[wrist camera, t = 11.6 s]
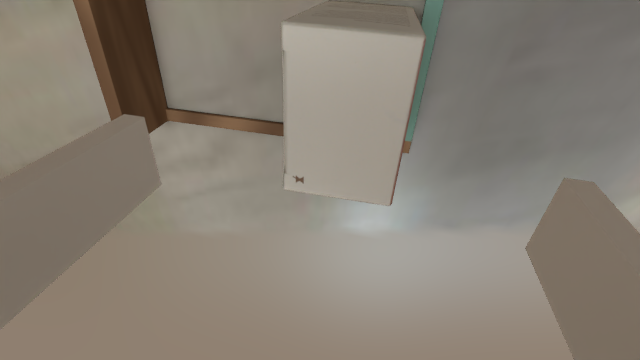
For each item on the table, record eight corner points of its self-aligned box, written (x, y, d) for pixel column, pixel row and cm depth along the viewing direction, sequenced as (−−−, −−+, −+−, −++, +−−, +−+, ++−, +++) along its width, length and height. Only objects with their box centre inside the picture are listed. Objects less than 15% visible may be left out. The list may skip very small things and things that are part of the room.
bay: (450, -33, 19) (466, -33, 15) (408, 151, 26) (411, 187, 21) (119, -55, 22) (54, -59, 17) (159, 117, 28) (118, 143, 24)
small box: (392, 125, 25) (391, 211, 16) (319, 116, 25) (280, 194, 17) (416, 4, 20) (431, 34, 12) (326, -3, 21) (278, 20, 12)
